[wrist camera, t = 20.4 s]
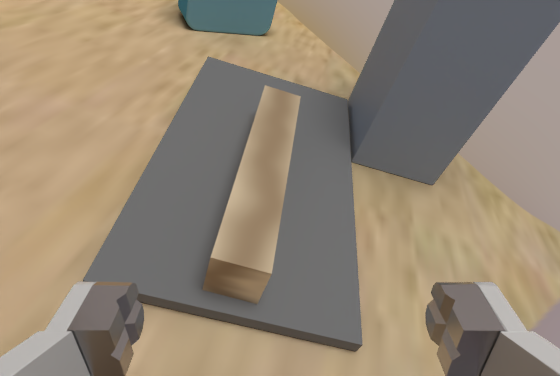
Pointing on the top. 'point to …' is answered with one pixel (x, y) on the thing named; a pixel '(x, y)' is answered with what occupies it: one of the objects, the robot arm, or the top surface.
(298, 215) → the rubber mat
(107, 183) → the top surface
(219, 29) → the data package
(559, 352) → the robot arm
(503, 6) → the slate block
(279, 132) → the maple rod
